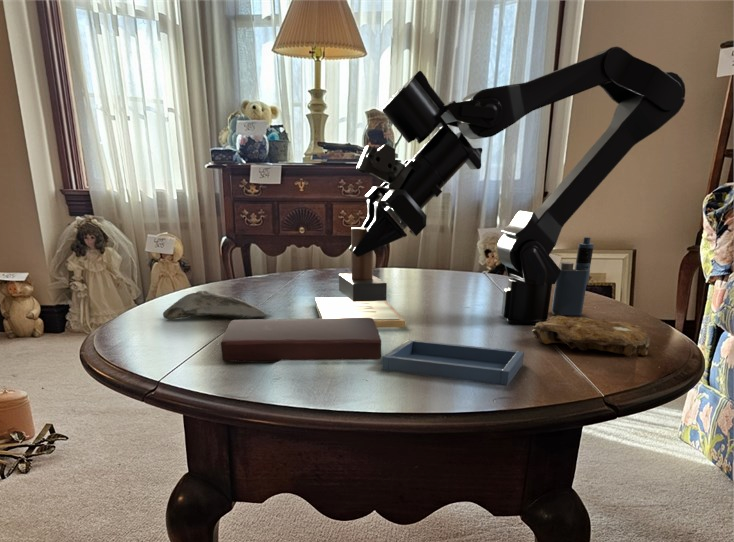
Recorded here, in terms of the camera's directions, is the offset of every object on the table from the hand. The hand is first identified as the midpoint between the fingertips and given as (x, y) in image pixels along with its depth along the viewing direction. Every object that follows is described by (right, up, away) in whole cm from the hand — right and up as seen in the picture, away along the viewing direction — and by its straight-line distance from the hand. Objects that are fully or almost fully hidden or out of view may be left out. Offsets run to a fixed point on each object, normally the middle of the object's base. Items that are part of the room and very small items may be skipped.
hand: (353, 253), depth 96 cm
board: (+1, -7, +9) cm, 11 cm away
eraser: (+1, -5, +3) cm, 6 cm away
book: (-6, -17, -11) cm, 21 cm away
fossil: (-21, -7, +9) cm, 24 cm away
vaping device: (+36, -5, +13) cm, 39 cm away
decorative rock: (+32, -16, -8) cm, 36 cm away
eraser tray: (+12, -21, -18) cm, 30 cm away
